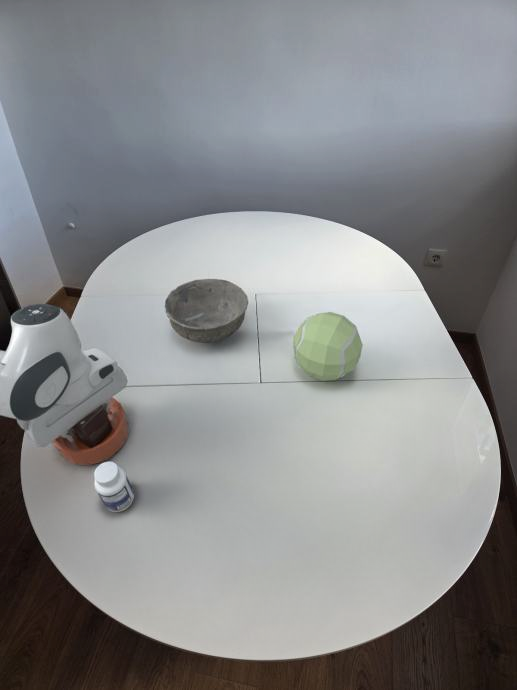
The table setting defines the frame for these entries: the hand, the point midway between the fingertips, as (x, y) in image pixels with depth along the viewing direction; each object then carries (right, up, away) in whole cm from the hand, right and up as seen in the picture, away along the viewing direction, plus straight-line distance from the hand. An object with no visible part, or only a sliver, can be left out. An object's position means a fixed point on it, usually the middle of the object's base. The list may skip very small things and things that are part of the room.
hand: (89, 425), depth 87 cm
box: (0, -2, +2) cm, 3 cm away
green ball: (+50, +11, +16) cm, 54 cm away
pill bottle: (+9, -12, -7) cm, 17 cm away
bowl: (+21, +20, +26) cm, 39 cm away
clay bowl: (0, -3, +3) cm, 4 cm away
